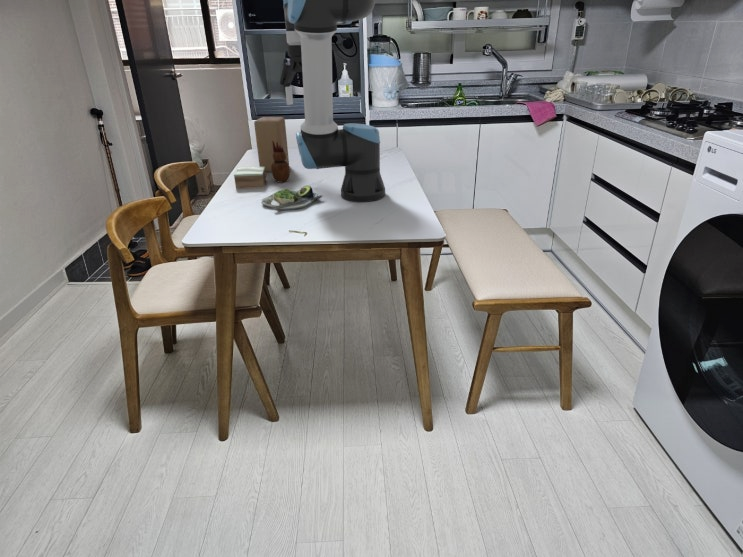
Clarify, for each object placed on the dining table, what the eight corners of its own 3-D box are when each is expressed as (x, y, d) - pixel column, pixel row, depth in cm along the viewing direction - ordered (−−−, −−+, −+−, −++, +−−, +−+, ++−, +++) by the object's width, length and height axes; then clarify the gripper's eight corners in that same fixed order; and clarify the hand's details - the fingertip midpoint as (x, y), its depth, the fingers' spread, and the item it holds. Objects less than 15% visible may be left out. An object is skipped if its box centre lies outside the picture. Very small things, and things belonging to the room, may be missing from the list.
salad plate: (296, 217, 148) (295, 202, 146) (249, 210, 155) (247, 196, 153) (327, 198, 164) (326, 185, 162) (283, 193, 171) (281, 180, 168)
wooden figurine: (269, 182, 182) (265, 141, 175) (279, 178, 186) (275, 138, 179) (284, 184, 179) (280, 143, 172) (293, 180, 183) (290, 139, 176)
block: (289, 166, 202) (285, 116, 193) (283, 172, 193) (278, 120, 184) (266, 166, 203) (260, 116, 194) (259, 172, 194) (252, 120, 185)
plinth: (263, 187, 176) (262, 173, 174) (236, 188, 175) (233, 174, 173) (266, 179, 185) (265, 166, 182) (240, 180, 184) (238, 167, 182)
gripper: (330, 43, 172) (333, 106, 182) (281, 44, 186) (286, 102, 195) (315, 44, 167) (319, 108, 176) (266, 44, 180) (273, 104, 190)
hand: (302, 105), depth 186 cm, fingers open, 13 cm apart
